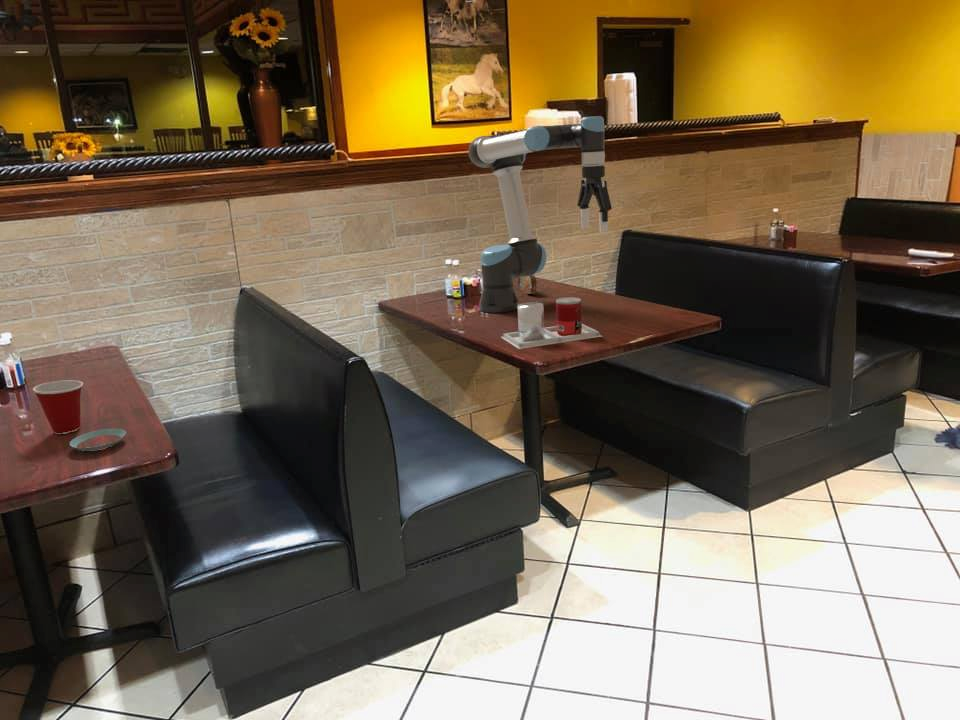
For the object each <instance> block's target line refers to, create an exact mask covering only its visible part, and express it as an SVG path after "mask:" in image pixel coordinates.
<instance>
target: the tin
mask: <svg viewBox="0 0 960 720" xmlns="http://www.w3.org/2000/svg"><path fill="white" fill-rule="evenodd" d="M517 279H518V281H517V283H518V288H519V291H520V290H523V291H525V292H527V293H529V294H534V295H535V294H536V293H537V278H536V276H535V274H534V275H531V276H524V277H518V278H517Z"/></svg>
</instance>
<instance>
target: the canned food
mask: <svg viewBox="0 0 960 720" xmlns="http://www.w3.org/2000/svg"><path fill="white" fill-rule="evenodd" d="M555 314H556V315H555V318H556V326H557V333H558V334H559V335H561V336H570V335H576V334H581V332H582V324H583V323H582V322H583V321H582V319H583V318H582V316H583V315H582V298H579V297H573V296H570V297H566V296H565V297H559V298H557V299H556V300H555Z"/></svg>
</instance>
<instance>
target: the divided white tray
mask: <svg viewBox="0 0 960 720" xmlns="http://www.w3.org/2000/svg"><path fill="white" fill-rule="evenodd" d="M544 337H545V339H543V340H536V341H530V342H521V341H519V331H513V332H505V333H502V336H500V338H501V339H503V341H505V342H507V343H509V344H510V345H511V346H513V347H515V348H516V349H519V350H522V349H528V348H534V347H541V346H547V345H549V346H550V345H555V344H561V343H567V342H573V341H580V340H587V339H588V340H589V339H593V338H600V337H601V338H603V335H601V334H600V331H598V330H596V329H594V328H592V327H590V326H588V325H585V324H584V323H582V332H581V334H576V335H570V336H561V335H559V334H558V333H557V325H555V326H548V327H547V326H546V327H544Z"/></svg>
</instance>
